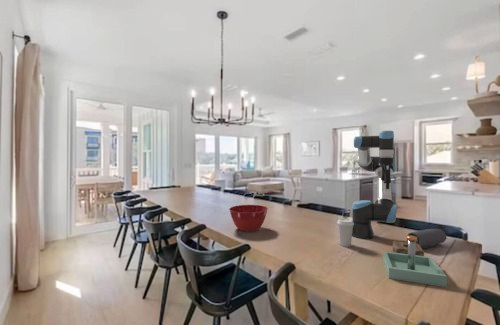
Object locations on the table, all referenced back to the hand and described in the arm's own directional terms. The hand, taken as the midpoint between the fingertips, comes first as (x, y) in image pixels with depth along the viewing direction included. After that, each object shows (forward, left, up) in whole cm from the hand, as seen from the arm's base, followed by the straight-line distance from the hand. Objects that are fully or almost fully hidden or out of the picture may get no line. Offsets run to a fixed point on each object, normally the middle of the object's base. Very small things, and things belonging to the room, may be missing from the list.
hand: (385, 193), depth 150 cm
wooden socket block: (+9, -14, -32) cm, 36 cm away
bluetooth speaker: (+23, +9, -32) cm, 40 cm away
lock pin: (+7, -33, -30) cm, 46 cm away
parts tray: (+7, -33, -32) cm, 46 cm away
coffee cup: (-22, -6, -32) cm, 39 cm away
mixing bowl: (-89, +4, -32) cm, 94 cm away
